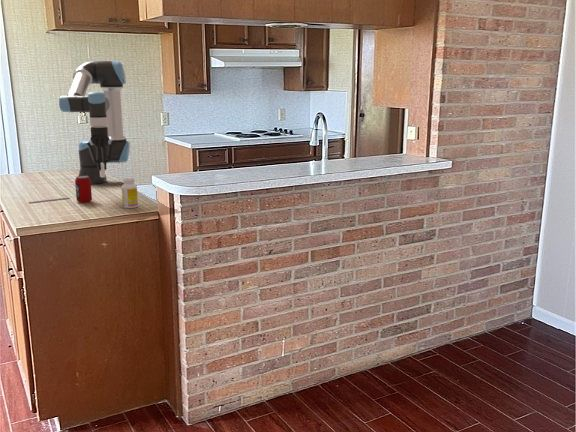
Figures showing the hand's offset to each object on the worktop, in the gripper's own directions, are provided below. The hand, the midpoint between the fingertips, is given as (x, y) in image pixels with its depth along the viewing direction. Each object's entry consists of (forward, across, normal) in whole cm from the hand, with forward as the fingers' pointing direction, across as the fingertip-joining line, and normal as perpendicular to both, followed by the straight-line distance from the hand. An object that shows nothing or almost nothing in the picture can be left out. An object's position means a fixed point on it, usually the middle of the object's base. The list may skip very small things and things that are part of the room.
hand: (102, 176), depth 260 cm
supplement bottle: (+11, -4, +22) cm, 25 cm away
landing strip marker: (+11, +22, -12) cm, 27 cm away
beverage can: (+11, +9, 0) cm, 14 cm away
